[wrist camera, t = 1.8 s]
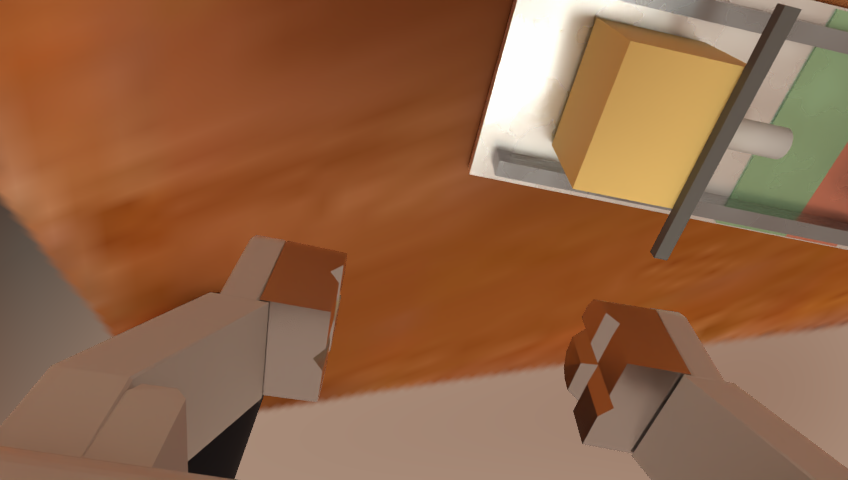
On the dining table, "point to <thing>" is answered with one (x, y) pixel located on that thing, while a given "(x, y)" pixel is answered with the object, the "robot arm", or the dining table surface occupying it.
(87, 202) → the dining table surface
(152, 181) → the dining table surface
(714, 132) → the block
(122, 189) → the dining table surface
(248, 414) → the wine bottle
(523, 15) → the track
